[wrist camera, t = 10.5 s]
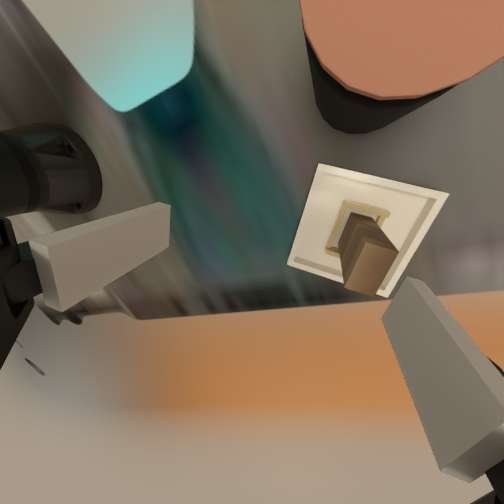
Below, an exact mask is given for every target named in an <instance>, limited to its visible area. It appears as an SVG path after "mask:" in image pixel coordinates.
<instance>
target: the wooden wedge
mask: <svg viewBox="0 0 504 504" xmlns="http://www.w3.org/2000/svg"><path fill="white" fill-rule="evenodd" d="M338 247H339V254H340V261H341V268H342V275H343V282H344V288H347V289H350V290H353V291H356V292H359V293H362V294H365V295H368V296H371V297H374V296H375V294H376V293H377V291H378V289H379V287H380V285H381V284H382V282H383V280H384V278H385V277H386V275H387V273H388V271H389V269H390V268H391V266H392V264H393V262H394V261H395V259H396V257H397V255H398V253H399V251H398V250H397V248H396V247H395V246H394V245H393V243H392V242H391V241H390V240H389V238H388V237H387V236H386V235H385V233H384V232H383V231H382V229H381V228H380V227H379V226H378V224H377V223H376V222H375V221H374V219H373V218H372V217H369V216H365V215H362V214H358V213H354V212H351V213H350V216H349V218H348V220H347V223H346V225H345V228H344V230H343V232H342V235H341V237H340V240H339V242H338Z"/></svg>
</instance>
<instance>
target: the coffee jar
mask: <svg viewBox="0 0 504 504" xmlns="http://www.w3.org/2000/svg"><path fill="white" fill-rule="evenodd" d="M299 3H300V9H301V15H302V23H303V29H304V35H305V40H306V46H307V52H308V58H309V64H310V69H311V75H312V81H313V87H314V92H315V98H316V104H317V107H318V109H319V111H320V112H321V114H322V116H323V118H324V119H325V120H326V121H327V122H328V123H329V124H330V125H332V126H333V127H334V128H335V129H338V130H341V131H343V132H346V133H368V132H371V131H374V130H377V129H380V128H383V127H384V126H386V125H388V124H390V123H392V122H394V121H395V120H397V119H399V118H401V117H403V116H404V115H406V114H408V113H410V112H412V111H414V110H415V109H417V108H419V107H421V106H423V105H424V104H426V103H428V102H430V101H432V100H433V99H435V98H437V97H439V96H441V95H442V94H444V93H445V92H447V91H448V90H450V89H452V88H453V87H455V86H456V85H458V84H459V83H462V82H464V81H467V80H469V79H470V78H472V77H474V76H475V75H477V74H478V73H480V72H481V71H483V70H484V69H486V68H488V67H489V66H491V65H492V64H494V63H495V62H497V61H499V60H500V59H502V58H503V57H504V0H299Z"/></svg>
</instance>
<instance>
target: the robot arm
mask: <svg viewBox="0 0 504 504" xmlns="http://www.w3.org/2000/svg"><path fill="white" fill-rule="evenodd" d="M100 195H101V176H100V172H99V168H98V165H97V163H96V160H95V158H94V156H93V154H92V152H91V151H90V149H89V148H88V146H87V145H86V143H85V142H84V141H83V140H82V139H81V138H80V137H79V136H78V135H77V134H76V133H75V132H73V131H72V130H70V129H69V128H67V127H65V126H62V125H57V124H49V123H36V124H32V125H27V126H23V127H18V128H13V129H9V130H4V131H0V369H1V367H2V366H3V364H4V362H5V360H6V358H7V356H8V354H9V352H10V350H11V348H12V346H13V345H14V343H15V341H16V339H17V337H18V335H19V333H20V331H21V329H22V328H23V326H24V324H25V322H26V320H27V318H28V316H29V314H30V312H31V310H32V309H33V307H34V299H33V297H34V296H36V295H38V294H40V293H43V297H44V301H45V304H46V306H49V307H51V308H53V309H56V310H58V311H61V312H63V311H65V310H67V309H68V308H70V307H71V306H73V305H75V304H76V303H78V302H80V301H81V300H83V299H85V298H86V297H88V296H90V295H91V294H93V293H94V292H96V291H98V290H99V289H101V288H103V287H104V286H106V285H108V284H109V283H111V282H112V281H114V280H116V279H117V278H119V277H121V276H122V275H124V274H126V273H127V272H129V271H130V270H132V269H134V268H135V267H137V266H139V265H140V264H142V263H144V262H145V261H147V260H149V259H150V258H152V257H153V256H155V255H157V254H158V253H160V252H162V251H163V250H165V249H167V248H168V247H169V230H170V208H171V205H168V204H164V203H161V202H157V203H153V204H150V205H147V206H143V207H140V208H136V209H133V210H129V211H126V212H122V213H119V214H115V215H112V216H108V217H105V218H102V219H98V220H95V221H91V222H88V223H84V224H81V225H77V226H74V227H70V228H67V229H64V230H60V231H57V232H53V233H50V234H46V235H43V236H39V237H36V238H32V239H29V240H28V241H27V242H23V243H20V244H17V241H16V238H15V234H14V231H13V228H12V224H11V221H10V220H9V219H8V218H5V217H7V216H12V215H18V214H23V213H28V212H48V213H60V214H78V213H83V212H87V211H90V210H92V209H93V208H94V207H95V206H96V205H97V203H98V201H99V199H100ZM381 319H382V322H383V324H384V327H385V329H386V332H387V334H388V337H389V339H390V342H391V345H392V347H393V350H394V353H395V355H396V358H397V360H398V363H399V366H400V368H401V371H402V373H403V376H404V379H405V381H406V383H407V386H408V388H409V391H410V394H411V397H412V399H413V402H414V405H415V407H416V410H417V412H418V415H419V417H420V420H421V422H422V425H423V428H424V430H425V433H426V435H427V438H428V441H429V443H430V446H431V449H432V451H433V454H434V456H435V459H436V462H437V464H438V467H439V469H440V471H442V472H444V473H447V474H449V475H451V476H454V477H456V478H458V479H461V480H463V481H466V482H468V483H471V482H472V481H474V480H476V479H477V478H479V477H480V476H482V475H483V474H485V473H486V475H487V477H488V479H489V481H490V483H491V485H492V487H493V489H494V490H493V491H491V492H489V493H488V494H486V495H484V496H483V497H481V498H479V499H477V500H476V501H474V502H472V503H471V504H504V372H503V371H502V369H501V368H500V367H499V366H497V365H496V364H495V363H494V362H493V361H492V360H491V359H489V358H488V357H487V356H486V355H485V354H484V353H483V352H482V351H481V350H480V348H479V347H478V346H477V345H476V343H475V342H474V341H473V340H472V339H471V338H470V336H469V335H468V334H467V333H466V331H465V330H464V329H463V328H462V327H461V325H459V323H458V322H457V321H456V320H455V318H454V317H453V316H452V315H451V314H450V313H449V311H448V310H447V309H446V308H445V306H444V305H443V304H442V303H441V302H440V300H439V299H438V298H437V297H436V296H435V294H434V293H433V292H432V291H431V290H430V288H429V287H428V286H427V285H426V284H425V282H424V281H421V280H417V279H414V278H411V277H406V279H405V281H404V282H403V284H402V285H401V287H400V289H399V290H398V292H397V293H396V295H395V297H394V298H393V300H392V301H391V303H390V305H389V306H388V308H387V309H386V311H385V313H384V314H383V316H382V318H381Z"/></svg>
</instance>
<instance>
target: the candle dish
mask: <svg viewBox="0 0 504 504" xmlns="http://www.w3.org/2000/svg"><path fill="white" fill-rule="evenodd" d="M448 195H449V194H448V193H445V192H441V191H437V190H433V189H429V188H425V187H420V186H416V185H412V184H408V183H403V182H399V181H395V180H391V179H386V178H382V177H378V176H373V175H369V174H365V173H361V172H356V171H352V170H348V169H344V168H339V167H335V166H331V165H327V164H322V163H319V164H318V167H317V171H316V174H315V177H314V180H313V183H312V186H311V189H310V193H309V196H308V199H307V202H306V205H305V208H304V212H303V215H302V218H301V221H300V224H299V227H298V230H297V234H296V237H295V240H294V243H293V246H292V249H291V253H290V256H289V259H288V262H287V265H289V266H293V267H296V268H299V269H302V270H305V271H308V272H311V273H314V274H317V275H320V276H323V277H326V278H329V279H332V280H335V281H338V282H341V283H344V282H343V275H342V268H341V261H340V254H339V247H338V242H339V240H340V237H341V235H342V232H343V230H344V228H345V225H346V223H347V220H348V218H349V216H350V213H351V212H354V213H358V214H362V215H365V216H369V217H372V218H373V219H374V221H375V222H376V223H377V224H378V226H379V227H380V228H381V229H382V231H383V232H384V233H385V235H386V236H387V237H388V238H389V240H390V241H391V242H392V243H393V245H394V246H395V247H396V248H397V250H398V251H399V253H398V255H397V257H396V259H395V261H394V262H393V264H392V266H391V268H390V269H389V271H388V273H387V275H386V277H385V278H384V280H383V282H382V284H381V285H380V287H379V289H378V291H377V293H376V294H378V295H381V296H384V297H387V298H388V296H389V295H390V293H391V291H392V290H393V288H394V286H395V284H396V283H397V281H398V279H399V278H400V276H401V274H402V273H403V271H404V269H405V268H406V266H407V264H408V263H409V261H410V259H411V258H412V256H413V254H414V253H415V251H416V249H417V248H418V246H419V244H420V242H421V241H422V239H423V237H424V236H425V234H426V232H427V231H428V229H429V227H430V226H431V224H432V222H433V221H434V219H435V217H436V216H437V214H438V212H439V211H440V209H441V207H442V206H443V204H444V202H445V201H446V199H447V197H448Z"/></svg>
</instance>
